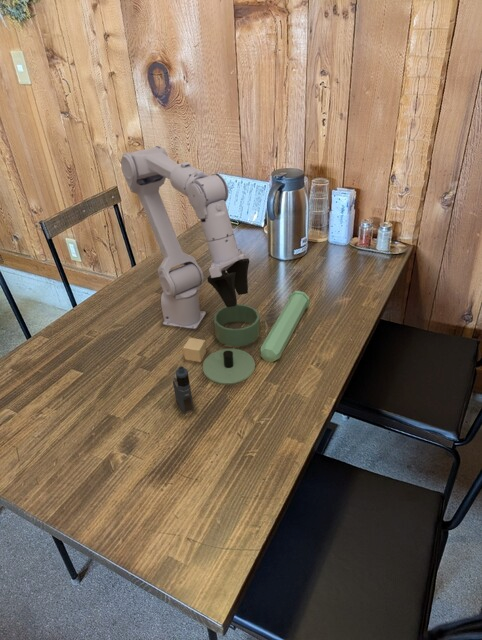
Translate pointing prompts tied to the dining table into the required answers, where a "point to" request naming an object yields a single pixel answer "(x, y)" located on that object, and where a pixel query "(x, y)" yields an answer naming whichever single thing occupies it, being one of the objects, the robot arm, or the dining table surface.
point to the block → (194, 349)
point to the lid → (228, 366)
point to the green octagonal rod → (284, 326)
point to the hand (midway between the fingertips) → (237, 299)
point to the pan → (242, 334)
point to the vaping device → (183, 390)
